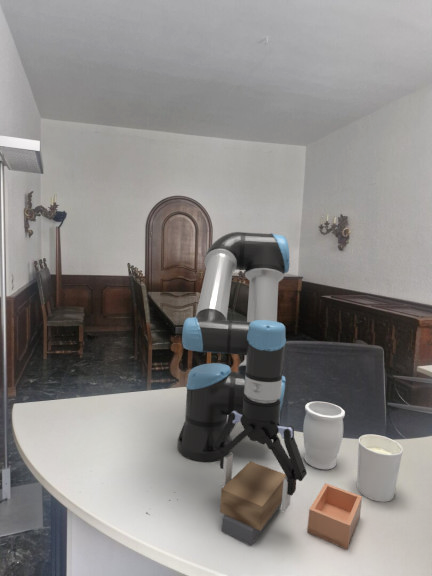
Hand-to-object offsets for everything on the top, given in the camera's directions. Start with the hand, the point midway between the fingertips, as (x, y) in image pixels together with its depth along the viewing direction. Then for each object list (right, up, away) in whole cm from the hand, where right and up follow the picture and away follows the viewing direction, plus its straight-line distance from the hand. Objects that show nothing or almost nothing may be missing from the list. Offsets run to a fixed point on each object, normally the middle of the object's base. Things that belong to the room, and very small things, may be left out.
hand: (254, 495), depth 83 cm
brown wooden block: (0, -2, +1) cm, 2 cm away
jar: (+20, -4, +25) cm, 32 cm away
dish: (+17, -6, 0) cm, 18 cm away
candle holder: (+30, -6, +13) cm, 33 cm away
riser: (0, -5, +1) cm, 5 cm away
